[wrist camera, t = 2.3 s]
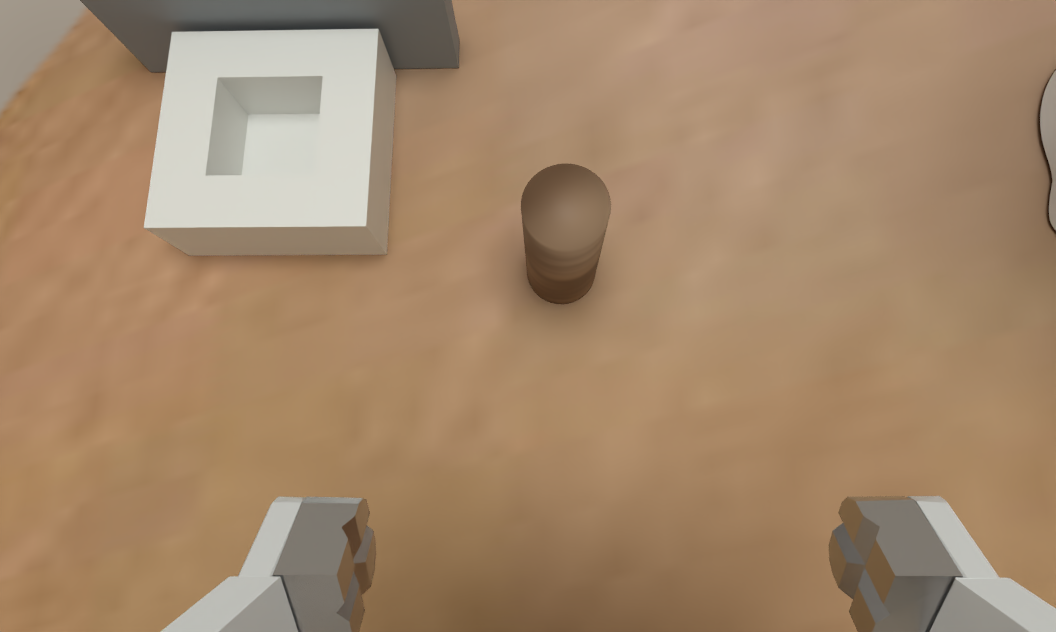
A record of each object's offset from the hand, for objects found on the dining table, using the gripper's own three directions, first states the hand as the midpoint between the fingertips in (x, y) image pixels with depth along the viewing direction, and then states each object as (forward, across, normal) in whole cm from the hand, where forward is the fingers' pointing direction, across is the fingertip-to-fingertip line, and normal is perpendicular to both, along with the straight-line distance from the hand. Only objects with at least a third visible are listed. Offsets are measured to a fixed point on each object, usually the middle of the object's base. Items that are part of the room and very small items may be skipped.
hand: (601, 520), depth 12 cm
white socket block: (+32, -16, -4) cm, 36 cm away
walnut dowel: (+27, 0, -9) cm, 29 cm away
